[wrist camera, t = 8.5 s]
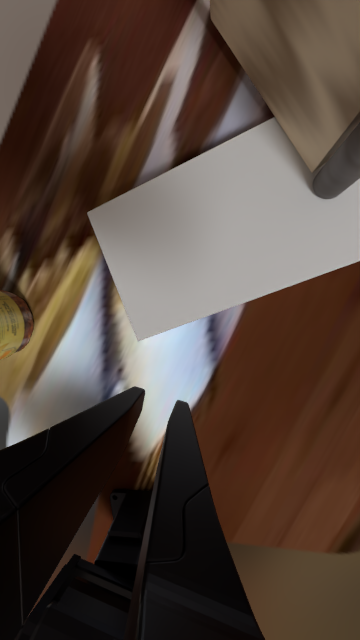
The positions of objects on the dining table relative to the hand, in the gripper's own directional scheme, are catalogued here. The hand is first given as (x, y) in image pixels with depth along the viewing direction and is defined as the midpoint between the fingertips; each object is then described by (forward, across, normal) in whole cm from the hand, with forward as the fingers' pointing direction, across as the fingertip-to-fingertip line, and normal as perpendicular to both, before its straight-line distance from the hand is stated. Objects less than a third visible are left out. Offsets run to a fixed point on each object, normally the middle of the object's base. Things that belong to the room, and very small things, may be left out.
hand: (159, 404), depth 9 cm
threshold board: (+13, -1, -7) cm, 15 cm away
